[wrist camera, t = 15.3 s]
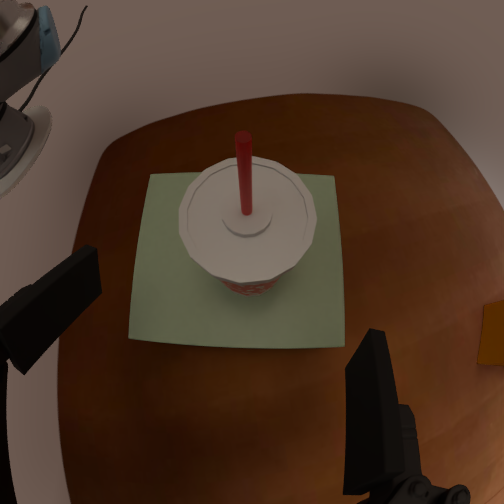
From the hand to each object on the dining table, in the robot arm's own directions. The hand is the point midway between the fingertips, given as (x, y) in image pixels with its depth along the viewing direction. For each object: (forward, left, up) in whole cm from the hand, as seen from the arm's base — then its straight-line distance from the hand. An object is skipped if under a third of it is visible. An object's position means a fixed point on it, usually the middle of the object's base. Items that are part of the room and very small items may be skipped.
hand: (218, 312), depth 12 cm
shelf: (-5, 0, -15) cm, 16 cm away
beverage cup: (-4, +1, -8) cm, 9 cm away
